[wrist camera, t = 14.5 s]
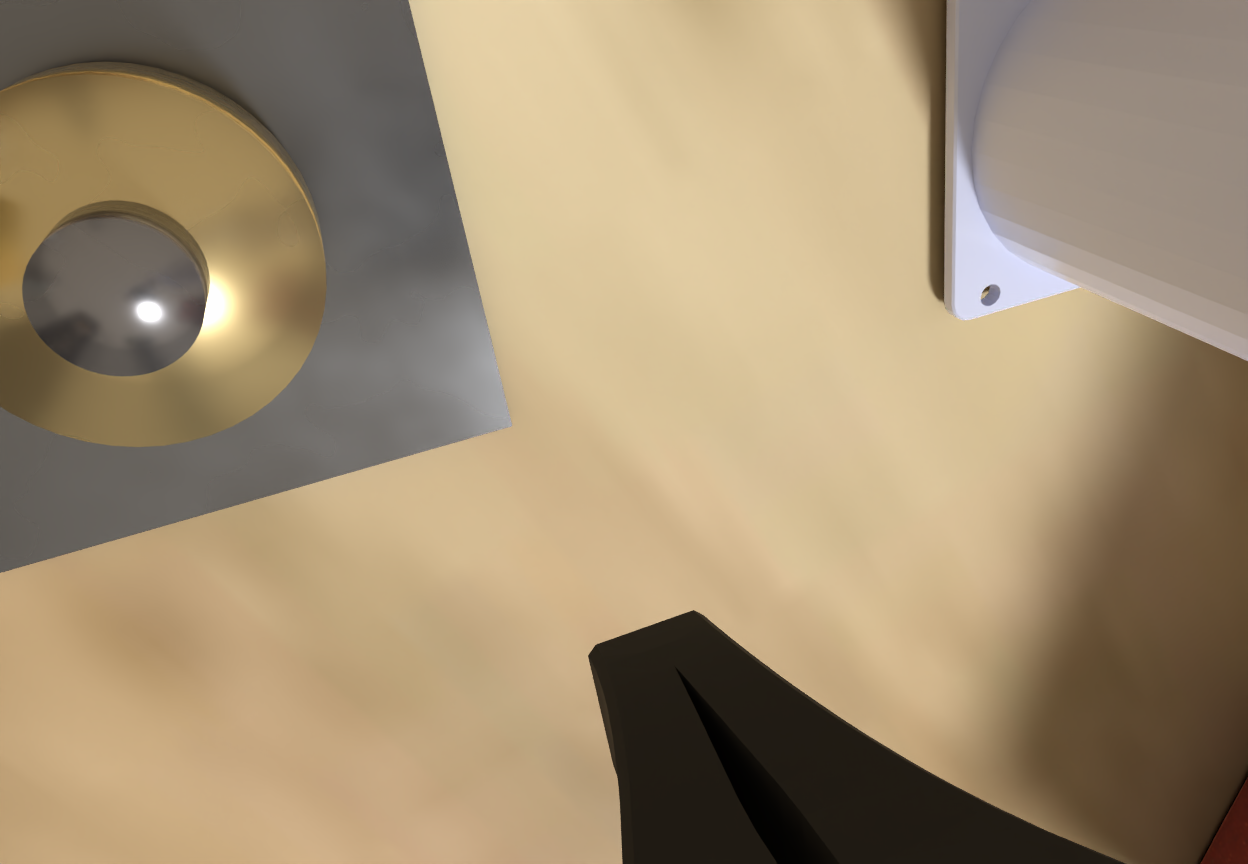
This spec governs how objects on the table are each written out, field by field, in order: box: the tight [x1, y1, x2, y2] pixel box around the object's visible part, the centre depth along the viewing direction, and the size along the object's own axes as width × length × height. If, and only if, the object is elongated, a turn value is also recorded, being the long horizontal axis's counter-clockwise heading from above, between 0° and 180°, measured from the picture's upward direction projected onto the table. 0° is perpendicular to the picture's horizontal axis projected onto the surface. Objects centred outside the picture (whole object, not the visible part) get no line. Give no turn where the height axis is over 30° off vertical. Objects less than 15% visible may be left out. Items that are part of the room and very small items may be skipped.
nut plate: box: [0, 0, 512, 573], centre depth 17 cm, size 11×11×1 cm
